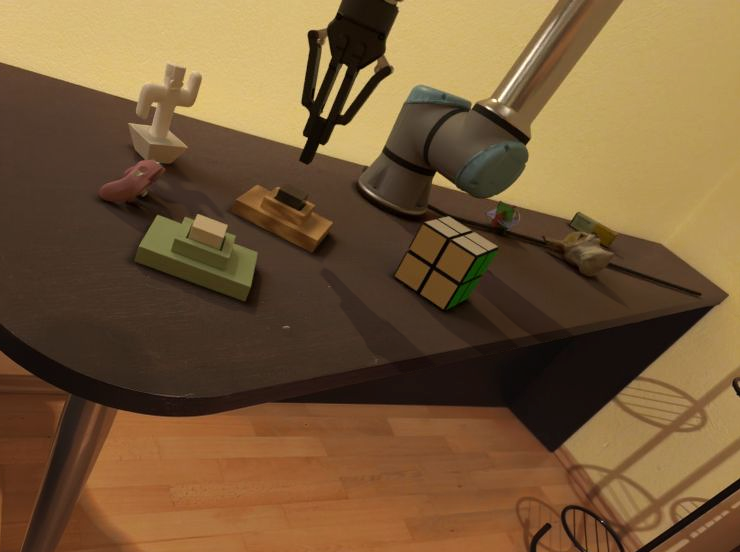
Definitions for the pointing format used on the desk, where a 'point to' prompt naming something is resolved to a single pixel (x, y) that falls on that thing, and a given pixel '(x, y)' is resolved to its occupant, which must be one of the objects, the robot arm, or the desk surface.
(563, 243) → the ceramic sculpture
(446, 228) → the puzzle cube
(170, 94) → the figurine
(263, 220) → the wooden socket base
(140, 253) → the green stepped button base
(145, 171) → the pink rounded piece
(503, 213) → the geometric puzzle
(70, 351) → the desk surface
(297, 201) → the black key
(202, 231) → the white key
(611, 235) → the medication box
